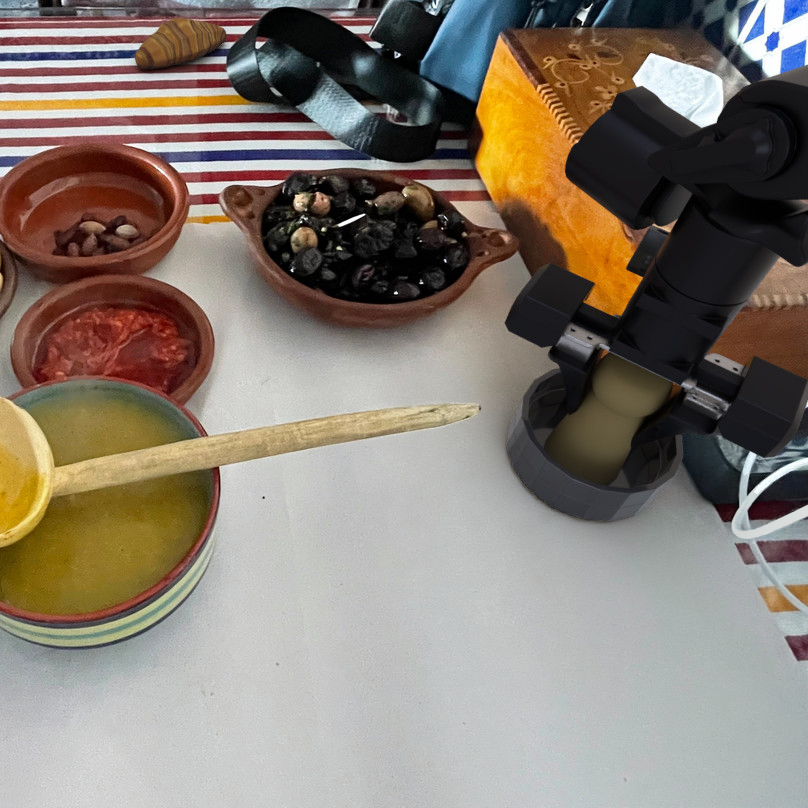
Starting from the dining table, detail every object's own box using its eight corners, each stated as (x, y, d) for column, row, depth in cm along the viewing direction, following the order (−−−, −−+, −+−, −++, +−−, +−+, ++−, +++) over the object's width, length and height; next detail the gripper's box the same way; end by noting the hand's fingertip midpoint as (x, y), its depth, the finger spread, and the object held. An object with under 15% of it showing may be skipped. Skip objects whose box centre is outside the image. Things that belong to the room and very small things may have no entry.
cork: (569, 413, 64) (625, 320, 55) (634, 457, 61) (703, 367, 52) (530, 453, 61) (581, 362, 52) (596, 501, 58) (662, 414, 50)
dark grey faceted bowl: (675, 447, 63) (702, 414, 59) (625, 553, 56) (652, 523, 53) (540, 378, 67) (558, 343, 63) (479, 470, 60) (495, 436, 57)
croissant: (153, 84, 93) (150, 43, 89) (123, 60, 96) (119, 20, 92) (240, 54, 99) (241, 14, 95) (210, 32, 102) (209, -7, 98)
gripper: (892, 269, 47) (752, 421, 59) (603, 155, 53) (531, 314, 65) (860, 377, 41) (712, 521, 53) (539, 234, 47) (473, 393, 59)
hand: (601, 427), depth 58 cm, fingers closed on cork, 4 cm apart
